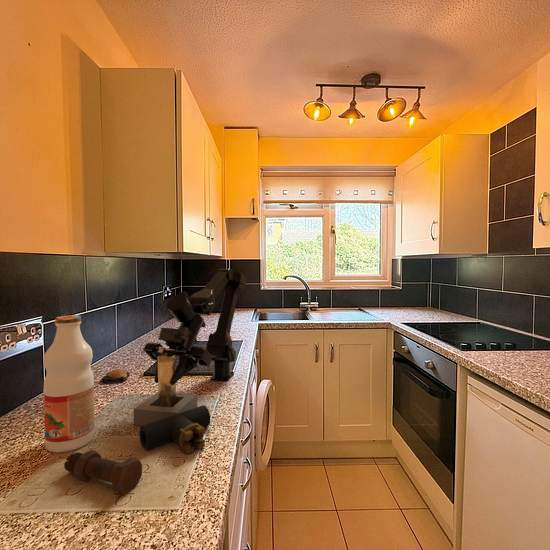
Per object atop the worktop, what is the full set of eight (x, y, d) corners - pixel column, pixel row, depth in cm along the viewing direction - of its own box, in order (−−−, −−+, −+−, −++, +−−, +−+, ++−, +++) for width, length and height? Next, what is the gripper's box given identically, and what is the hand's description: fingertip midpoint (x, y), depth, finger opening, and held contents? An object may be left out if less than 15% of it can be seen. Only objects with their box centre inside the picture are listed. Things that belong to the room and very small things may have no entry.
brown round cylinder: (158, 406, 85) (157, 353, 84) (175, 403, 86) (175, 352, 86) (158, 413, 81) (157, 358, 80) (176, 410, 82) (175, 356, 82)
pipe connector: (225, 416, 72) (161, 441, 62) (226, 439, 73) (161, 468, 62) (199, 402, 81) (139, 421, 71) (200, 423, 81) (139, 445, 71)
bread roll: (105, 376, 115) (105, 366, 115) (130, 374, 117) (130, 364, 117) (98, 387, 105) (98, 376, 105) (126, 384, 107) (126, 373, 107)
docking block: (159, 405, 90) (158, 391, 90) (197, 408, 88) (196, 394, 88) (134, 424, 79) (133, 408, 79) (176, 429, 77) (176, 412, 77)
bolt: (75, 478, 62) (135, 495, 57) (52, 479, 58) (115, 497, 53) (87, 444, 65) (146, 457, 59) (66, 443, 61) (127, 457, 55)
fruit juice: (94, 446, 69) (92, 318, 69) (41, 458, 65) (38, 321, 64) (95, 427, 78) (93, 312, 77) (48, 437, 73) (45, 315, 73)
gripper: (147, 313, 89) (116, 364, 79) (205, 316, 83) (181, 372, 73) (165, 335, 97) (140, 384, 87) (220, 340, 91) (200, 393, 81)
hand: (163, 383), depth 82 cm, fingers closed on brown round cylinder, 4 cm apart
